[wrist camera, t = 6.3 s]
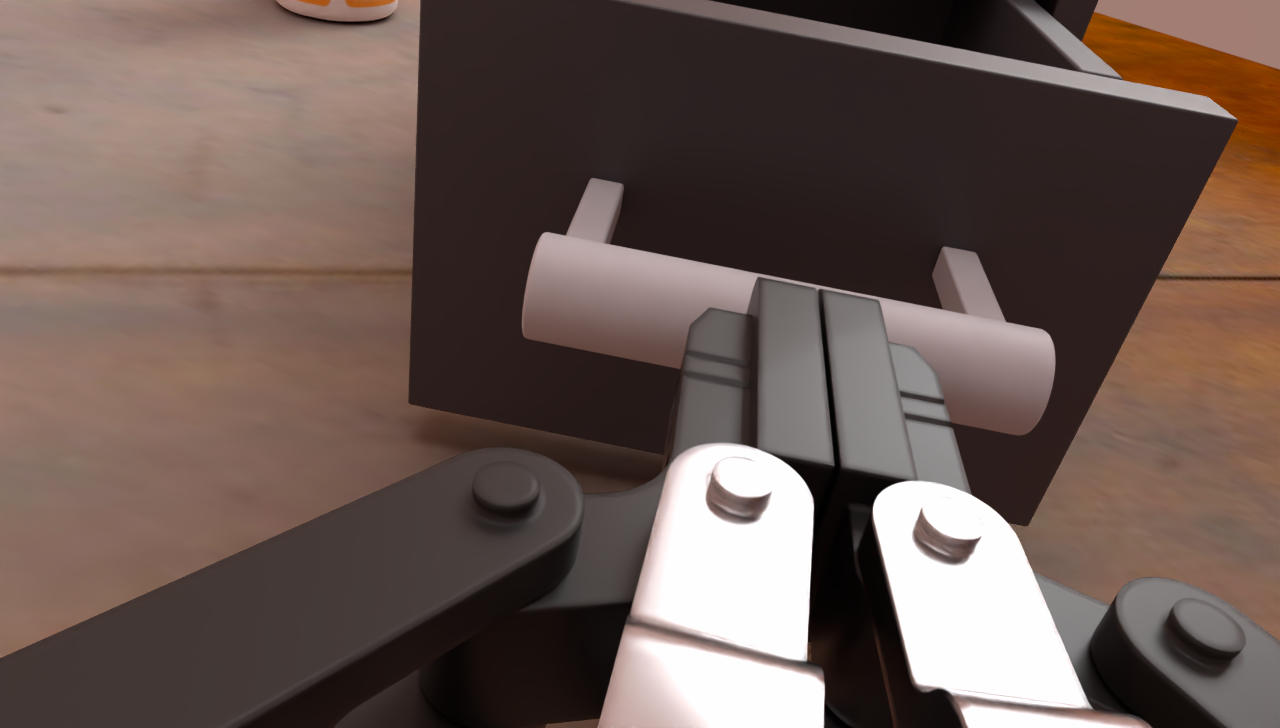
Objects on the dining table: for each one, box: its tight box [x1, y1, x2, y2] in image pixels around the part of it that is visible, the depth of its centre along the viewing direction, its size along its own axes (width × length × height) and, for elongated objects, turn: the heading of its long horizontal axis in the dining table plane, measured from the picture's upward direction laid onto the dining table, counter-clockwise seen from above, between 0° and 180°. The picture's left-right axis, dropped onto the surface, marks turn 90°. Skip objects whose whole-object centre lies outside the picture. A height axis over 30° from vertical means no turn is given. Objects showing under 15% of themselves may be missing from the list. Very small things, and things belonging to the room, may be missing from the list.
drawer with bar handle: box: [408, 0, 1238, 526], centre depth 21 cm, size 19×13×8 cm, turn 173°
